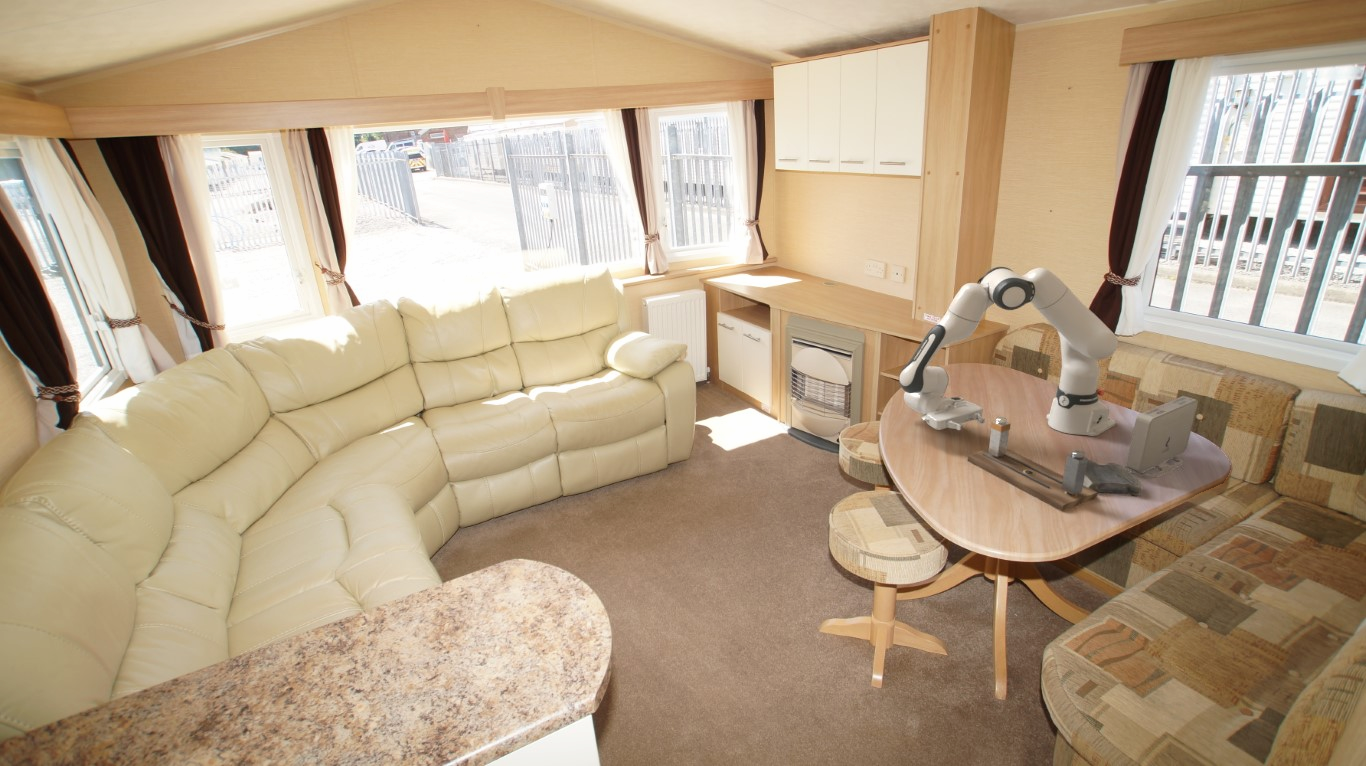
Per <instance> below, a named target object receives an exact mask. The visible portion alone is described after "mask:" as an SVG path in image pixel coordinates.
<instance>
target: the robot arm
mask: <svg viewBox="0 0 1366 766" xmlns="http://www.w3.org/2000/svg"><path fill="white" fill-rule="evenodd" d="M1028 303H1031V305H1033V307H1034V308H1035V309H1036V310H1037V311H1038V312H1039V313H1040V314H1041V315H1042V316H1043V318H1044V319H1046V321H1047V322H1048V323H1049V324H1050V325H1051V326H1052V327H1053V328H1054V329H1056V331H1057V334H1058V336H1059V341H1060V353H1061V371H1060V378H1059V379H1060V380H1059V384H1058V386H1057V387H1056V392H1055V393H1056V394H1055V397H1054V398H1053V400H1052V404H1051V407H1050V411H1049V413H1047V414H1046V416H1045V417H1046V419H1047V424H1048V426H1049V427H1050V428H1052V429H1053V430H1056V431H1058V432H1061V433H1065V434H1069V435H1070V434H1071V435H1080V436H1081V435H1083V436H1090V437H1097V436H1099V435H1100V434H1102V433H1104V432H1106V431H1108V430H1109V429H1111V428H1112V427H1114V426H1115V425H1116V420H1114V419H1113V418H1111V417H1110V416H1109V415H1110V409H1109V407H1108V406H1107V405H1106V404H1104V403H1103V402H1102V401H1101V400H1099V396H1102V397H1103V396H1104V394H1105V390H1104V389H1100V388H1097V387H1098V384H1099V378H1100V377H1099V376H1100V373H1101V371H1100V366H1099V364H1098V360H1105V359H1108V358H1110V357H1112V356H1113V355H1114V354H1115V353H1116V351H1117V350H1118V348H1119V340H1118V337H1117V336H1116V334H1115V333H1114V332H1113V331H1112V330H1111V329H1110V328H1109V327H1108V326H1107V325H1106V324H1105V323H1104V322H1103V321H1102V320H1101V318H1099V317H1098V316H1097V315H1096V314H1095V313H1094V312H1093V311H1091V310H1090V309H1089V308H1088V307H1087V305H1085V304H1084V303H1083V302H1082V301H1081V300H1080V299H1079V298H1078V297H1077V295H1076V294H1074V293H1073V292H1072V290H1071V289H1070V288H1069V287H1068V285H1066V284H1065V283H1064V281H1062V280H1061V278H1059V277H1058V276H1057V275H1056V274H1054V273H1053V272H1052V271H1051V270H1049V269H1047V268H1045V267H1036V268H1033V269H1031V270H1030V271H1027V272H1026V273H1025V274H1022V275H1020V274H1018V273H1016V272H1014V271H1013V270H1012V269H1011V268H1008V267H1005V266H997V267H993V268H991V269H990V270H988V271H987V272H986V273H985V274H984V275H983V276H982V277H980V278H979V279H978V280H977V283H976V282H969V283H965V284H964V285H962V286H961V288H960V289H959V290H958V291H957V293H956V294H955V296H954V298H953V300H952V301H951V303H950V304H949V307H948V308H947V310H946V313H945V314H944V315H943V317H941V319H940V320H939V321H938V323H937V324H936V325H934V326H933V327H932V328H930V330H929V331H928V333H926V335H925V336H924V339H922V341H921V343H920V344H919V346H918V348H917V349H916V350H915V351H914V353H913V355H912V357H911V358H910V359H909V361H908V362H907V363H906V364H905V365H904V366H903V368H901V371H900V373H899V375H898V382H899V383H898V384H899V385H900V387H901V389H903V391H904V394H903V401H904V403H905V404H906V405H907V406H908V407H909V408H910V409H911V410H913V411H915V412H916V413H918V414H920V415H921V417H920V418H921V420H923V421H924V422H926V424H927V425H928V426H929V427H931V428H933V429H935V430H938V431H940V430H944V429H948V428H949V429H954V430H955V429H956V430H957V431H961V430H964V425H963V424H964V423H965V424H966V423H968V422H973V421H976V423H978V424H979V425H982V424H984V423H985V420H986V419H985V418H984V417H983V411H984V410H983V407H982V406H980V405H978V404H975V403H973V402H971V401H968V400H965V399H964V398H963V397H960V396H957V397H956V396H955V397H948V396H947V397H946V396H944V395H945V393H946V391H947V388H948V386H949V379H950V378H949V375H948V372H947V370H946V369H944V368H943V367H941V366H935V365H934V366H933V365H930V363H931V362H932V360H933V359H934V357H935V356H936V354H937V353H938V352H939V351H940V350H941V349H942V348H944V347H945V346H948V345H950V344H952V343H956V342H961V341H963V340H966V339H968V338H970V337H971V336H972V335H973V334H974V333H975V331H976V329H977V328H978V326H979V323H980V322H981V320H982V318H983V316H984V313H985V312H986V311H987V310H988V309H989V308H990V307H991V306H993V305H994V304H995V305H996V306H997V307H998V308H1000V309H1002V310H1006V311H1015V310H1017V309H1020V308H1023V306H1025V305H1026V304H1028ZM943 396H944V397H943Z"/></svg>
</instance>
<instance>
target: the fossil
mask: <svg viewBox="0 0 1366 766" xmlns="http://www.w3.org/2000/svg"><path fill="white" fill-rule="evenodd" d="M1083 485H1084V486H1086V487H1088V488H1090V489H1092V490H1094V491H1096V492H1098V494H1105V495H1107V494H1108V495H1130V496H1134V497H1137V496H1139V495H1140V493H1141V492H1142V490H1143V486H1142V483H1141V480H1140V479H1139V478H1138V477H1136V476H1134V474H1133V473H1132V472H1130V471H1128V470H1127V469H1126V468H1124V467H1123V466H1121V465H1120V464H1118V463H1114V462H1108V463H1106V464H1099V463H1097V462H1095V461H1092V460H1090V459H1088V461H1087V467H1086V472H1085V477H1084V483H1083Z"/></svg>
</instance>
